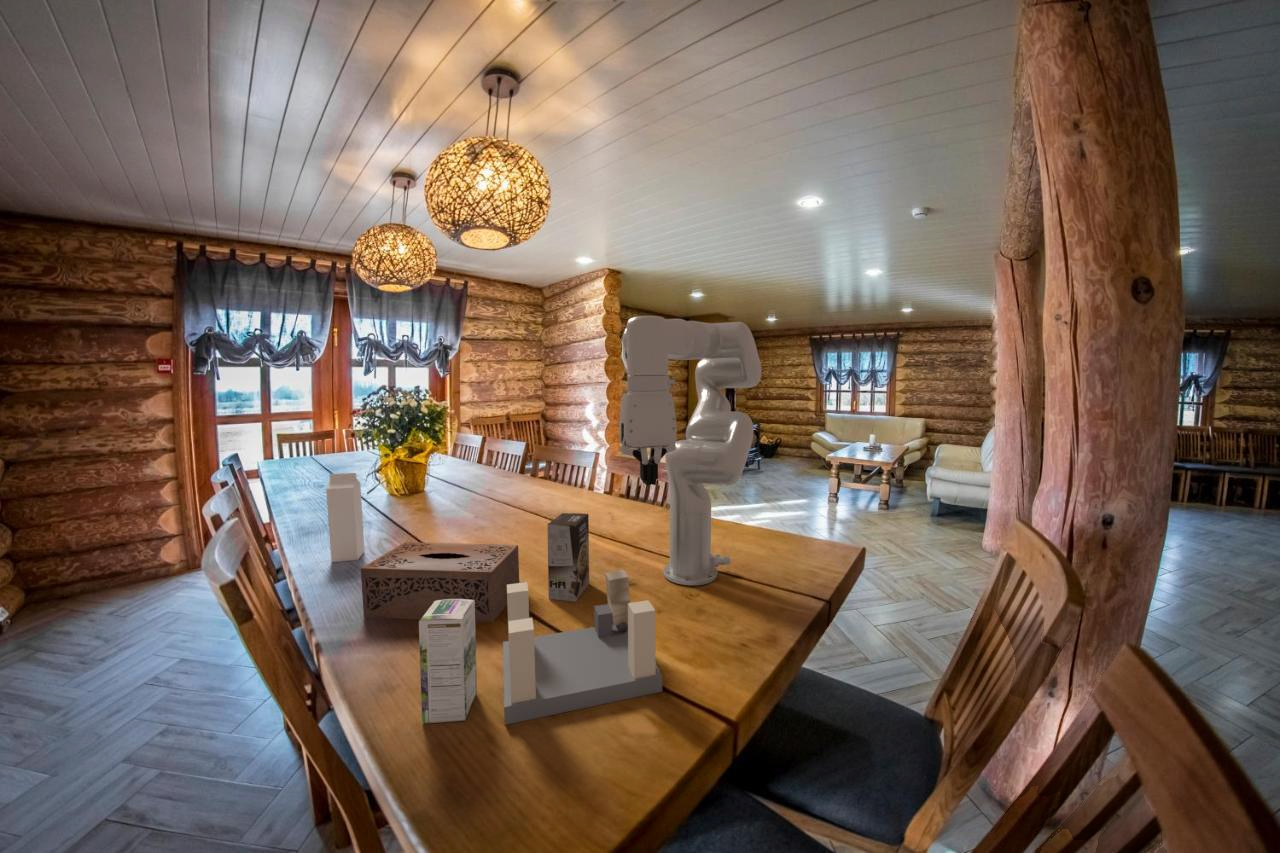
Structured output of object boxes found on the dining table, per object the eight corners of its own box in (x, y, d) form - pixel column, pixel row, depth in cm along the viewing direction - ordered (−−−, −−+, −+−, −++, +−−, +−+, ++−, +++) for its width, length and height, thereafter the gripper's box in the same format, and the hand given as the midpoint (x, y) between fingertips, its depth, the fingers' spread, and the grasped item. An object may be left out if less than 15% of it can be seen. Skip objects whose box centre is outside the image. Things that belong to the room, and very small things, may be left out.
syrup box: (436, 695, 66) (432, 599, 65) (478, 693, 67) (475, 597, 65) (421, 724, 61) (415, 619, 59) (467, 721, 61) (463, 617, 60)
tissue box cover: (363, 618, 89) (360, 568, 88) (407, 585, 103) (405, 542, 102) (493, 623, 87) (491, 572, 86) (519, 589, 101) (518, 545, 100)
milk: (357, 560, 117) (352, 475, 115) (330, 562, 116) (324, 476, 114) (365, 551, 123) (360, 470, 121) (339, 554, 122) (333, 471, 119)
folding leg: (627, 620, 81) (622, 568, 80) (632, 630, 78) (628, 577, 77) (609, 624, 81) (604, 572, 79) (614, 634, 77) (609, 581, 76)
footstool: (631, 634, 82) (631, 567, 81) (662, 691, 67) (662, 610, 66) (503, 656, 76) (500, 584, 75) (504, 724, 61) (501, 636, 59)
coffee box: (577, 602, 94) (575, 525, 93) (547, 599, 96) (545, 523, 94) (590, 583, 103) (589, 513, 102) (563, 581, 105) (562, 511, 103)
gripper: (676, 384, 90) (677, 476, 92) (602, 386, 85) (605, 483, 87) (693, 385, 83) (694, 484, 85) (614, 387, 78) (617, 492, 80)
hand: (649, 483), depth 86 cm, fingers closed
